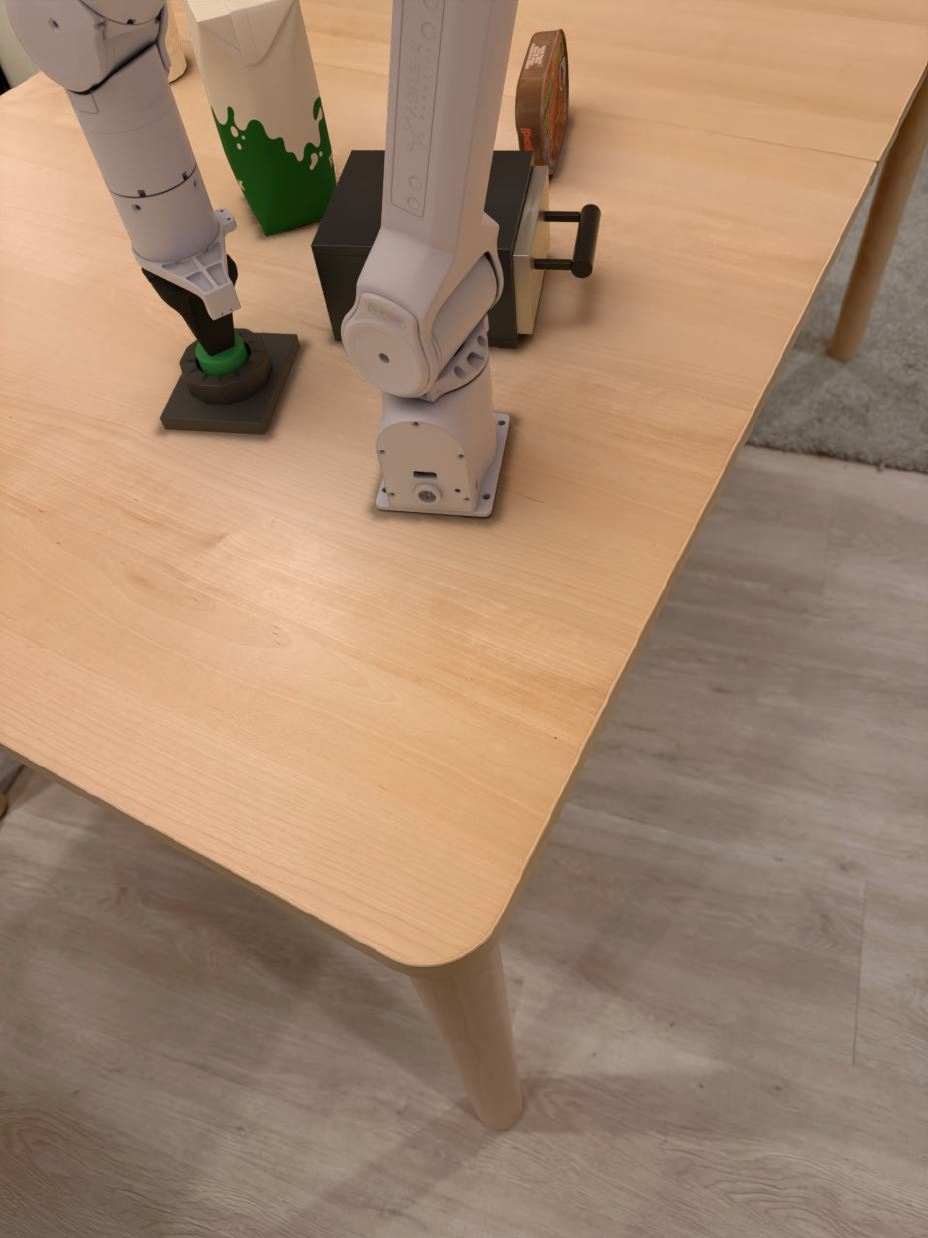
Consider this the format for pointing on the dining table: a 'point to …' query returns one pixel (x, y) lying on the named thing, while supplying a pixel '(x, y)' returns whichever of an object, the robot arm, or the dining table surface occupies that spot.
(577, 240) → the drawer
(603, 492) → the dining table surface
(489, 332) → the cabinet
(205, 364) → the button
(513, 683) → the dining table surface
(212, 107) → the milk carton
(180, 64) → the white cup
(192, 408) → the button box
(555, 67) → the tin
